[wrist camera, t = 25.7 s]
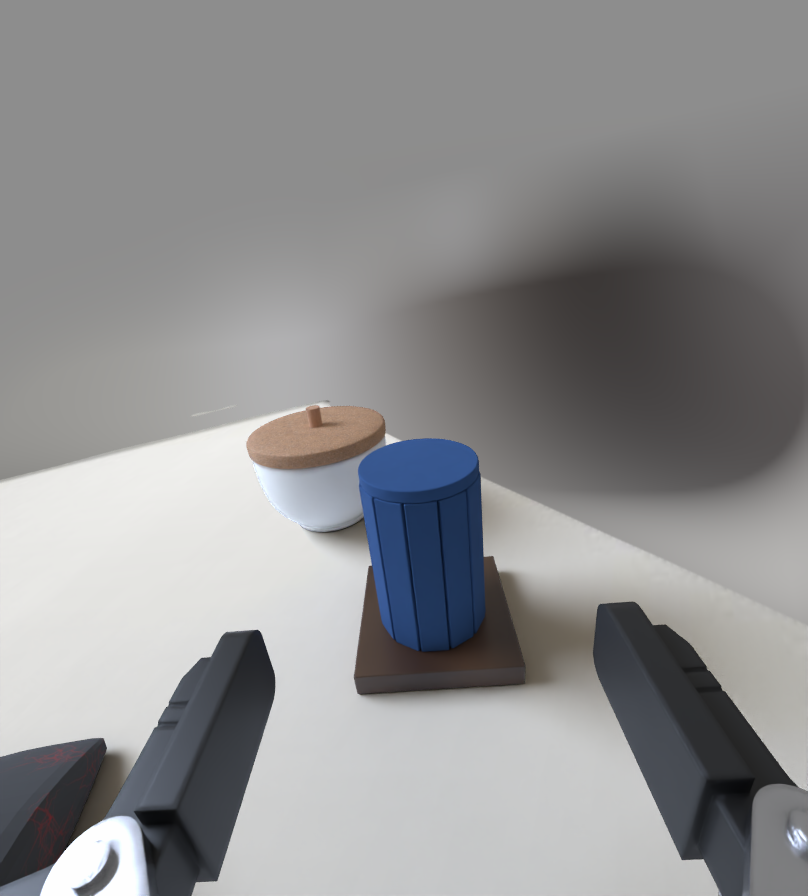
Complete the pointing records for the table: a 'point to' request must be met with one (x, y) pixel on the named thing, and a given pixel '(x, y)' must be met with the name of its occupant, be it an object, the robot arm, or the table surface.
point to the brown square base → (466, 665)
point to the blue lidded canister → (425, 540)
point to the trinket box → (316, 463)
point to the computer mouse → (43, 803)
